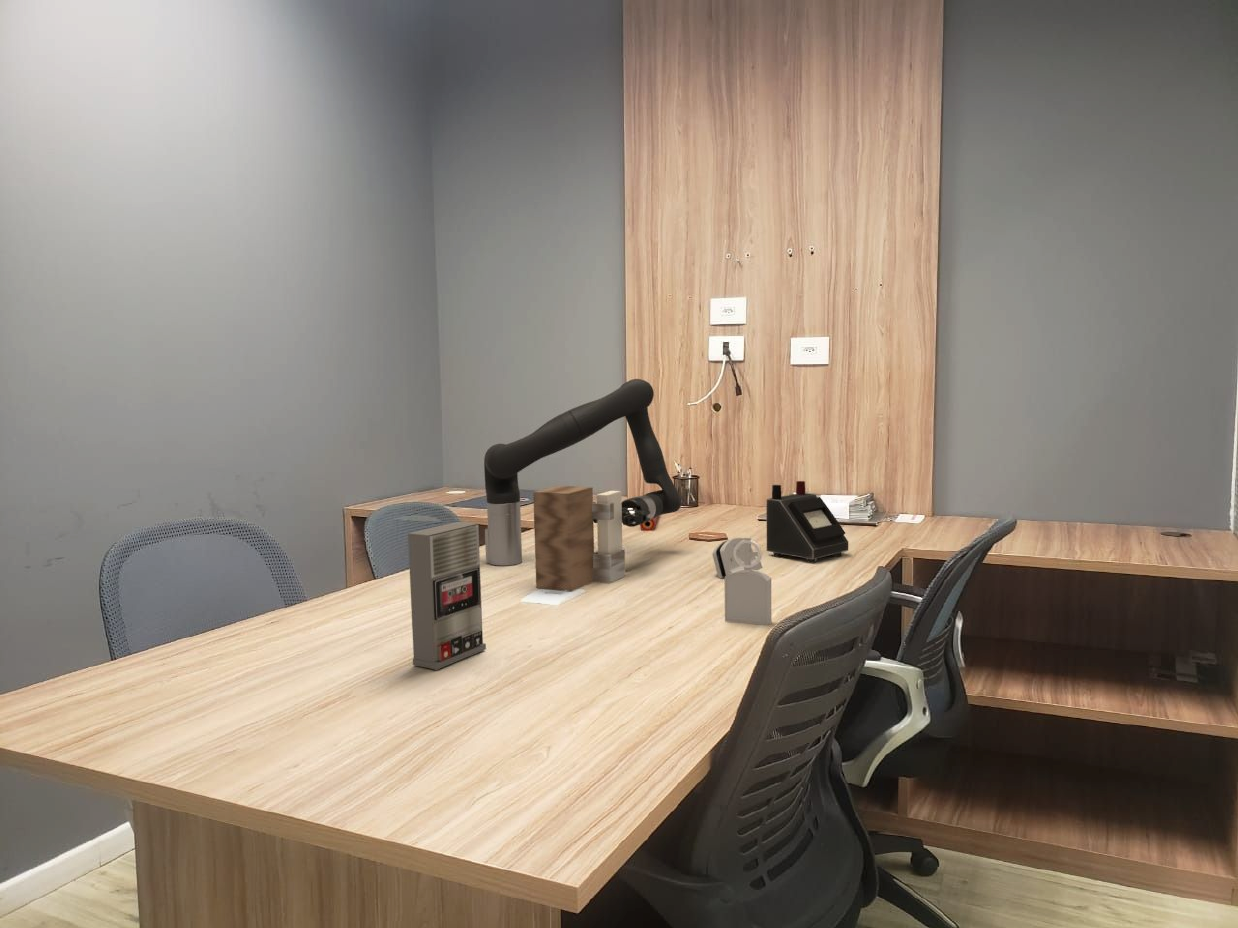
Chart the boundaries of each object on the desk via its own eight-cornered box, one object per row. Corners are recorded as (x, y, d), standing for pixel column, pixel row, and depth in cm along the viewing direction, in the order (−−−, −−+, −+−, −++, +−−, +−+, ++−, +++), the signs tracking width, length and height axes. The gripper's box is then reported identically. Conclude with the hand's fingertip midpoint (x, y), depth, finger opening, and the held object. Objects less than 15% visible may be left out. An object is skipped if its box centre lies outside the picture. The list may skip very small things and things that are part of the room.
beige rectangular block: (598, 564, 238) (596, 494, 236) (612, 558, 245) (610, 490, 243) (608, 565, 237) (607, 495, 235) (622, 559, 244) (621, 491, 242)
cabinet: (536, 587, 232) (533, 491, 229) (575, 571, 249) (573, 482, 247) (588, 593, 225) (586, 494, 223) (625, 576, 242) (623, 484, 240)
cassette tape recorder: (437, 671, 170) (431, 535, 167) (412, 666, 173) (406, 533, 171) (487, 650, 182) (482, 523, 179) (463, 646, 185) (458, 521, 182)
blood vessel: (655, 531, 307) (654, 516, 307) (640, 531, 308) (639, 516, 307) (662, 511, 349) (661, 498, 348) (648, 511, 349) (648, 498, 349)
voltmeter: (813, 564, 252) (814, 490, 250) (766, 555, 264) (766, 485, 262) (849, 555, 263) (849, 484, 260) (802, 547, 275) (802, 480, 273)
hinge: (735, 580, 235) (723, 542, 236) (720, 584, 238) (707, 547, 239) (763, 567, 249) (751, 531, 250) (748, 571, 252) (736, 536, 253)
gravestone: (767, 625, 195) (767, 540, 193) (724, 620, 199) (724, 537, 197) (771, 621, 198) (771, 537, 196) (728, 617, 202) (728, 535, 200)
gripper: (613, 495, 257) (584, 504, 243) (660, 498, 250) (633, 507, 236) (614, 522, 258) (585, 532, 243) (661, 525, 251) (634, 536, 237)
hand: (609, 520), depth 240 cm, fingers open, 8 cm apart
